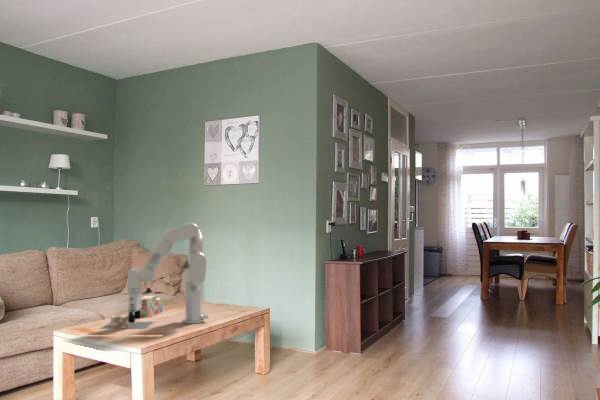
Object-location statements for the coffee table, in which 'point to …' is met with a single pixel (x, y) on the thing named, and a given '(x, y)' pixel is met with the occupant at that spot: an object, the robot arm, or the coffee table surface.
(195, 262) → the robot arm
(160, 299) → the stack of blocks
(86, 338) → the coffee table surface
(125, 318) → the T block
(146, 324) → the board
